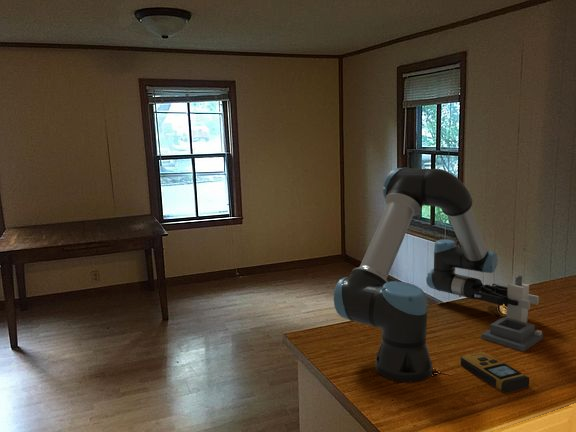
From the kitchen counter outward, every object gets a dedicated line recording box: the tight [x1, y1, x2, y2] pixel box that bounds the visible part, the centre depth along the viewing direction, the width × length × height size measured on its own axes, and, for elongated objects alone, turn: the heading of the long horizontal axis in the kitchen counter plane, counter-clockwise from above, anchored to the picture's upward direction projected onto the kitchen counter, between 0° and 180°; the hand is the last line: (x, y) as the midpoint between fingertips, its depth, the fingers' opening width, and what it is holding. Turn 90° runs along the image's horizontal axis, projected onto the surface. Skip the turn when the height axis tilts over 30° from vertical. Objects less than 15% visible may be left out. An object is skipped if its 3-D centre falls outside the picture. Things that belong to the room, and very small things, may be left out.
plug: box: [505, 274, 530, 323], centre depth 161 cm, size 4×5×16 cm
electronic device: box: [460, 351, 530, 394], centre depth 128 cm, size 9×16×4 cm, turn 20°
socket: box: [480, 316, 544, 352], centre depth 150 cm, size 13×13×4 cm
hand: (533, 302), depth 157 cm, fingers open, 6 cm apart
